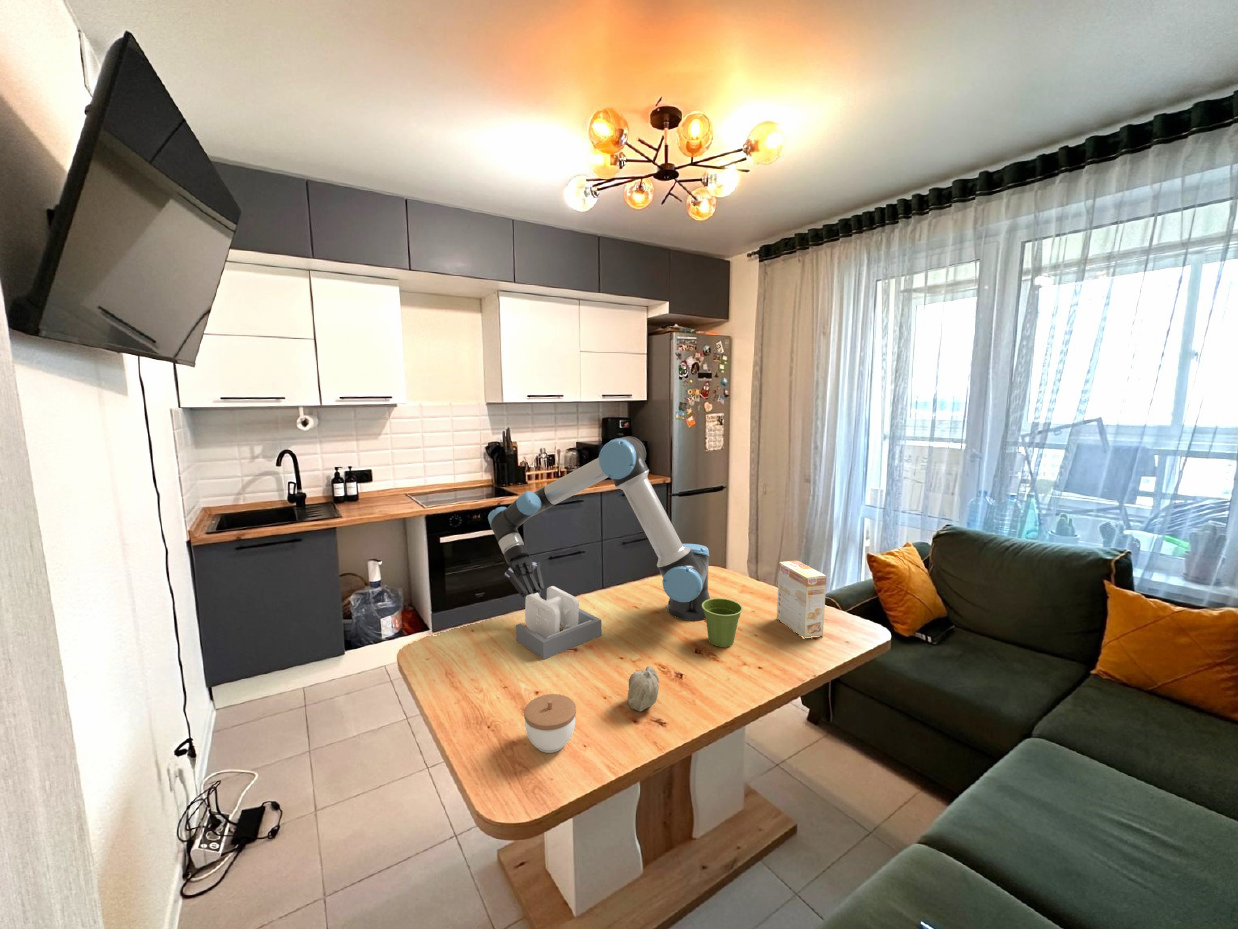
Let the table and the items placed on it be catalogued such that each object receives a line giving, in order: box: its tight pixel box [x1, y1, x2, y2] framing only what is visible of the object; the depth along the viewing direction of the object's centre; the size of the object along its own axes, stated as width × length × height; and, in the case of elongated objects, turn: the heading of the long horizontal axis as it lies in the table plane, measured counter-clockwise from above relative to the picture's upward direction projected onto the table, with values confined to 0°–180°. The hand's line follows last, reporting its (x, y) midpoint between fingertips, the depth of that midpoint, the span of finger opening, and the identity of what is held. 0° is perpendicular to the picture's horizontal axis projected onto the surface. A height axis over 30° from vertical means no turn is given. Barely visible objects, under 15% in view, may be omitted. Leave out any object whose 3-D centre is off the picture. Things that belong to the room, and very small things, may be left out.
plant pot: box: [702, 597, 744, 648], centre depth 146 cm, size 12×12×11 cm
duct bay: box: [515, 608, 603, 660], centre depth 149 cm, size 14×21×5 cm
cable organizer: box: [524, 585, 580, 639], centre depth 151 cm, size 15×11×12 cm
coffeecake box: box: [776, 560, 827, 638], centre depth 154 cm, size 15×7×20 cm, turn 14°
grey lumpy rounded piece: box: [627, 665, 660, 712], centre depth 116 cm, size 9×8×10 cm
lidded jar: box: [523, 693, 577, 754], centre depth 103 cm, size 11×11×9 cm
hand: (542, 613), depth 154 cm, fingers closed
